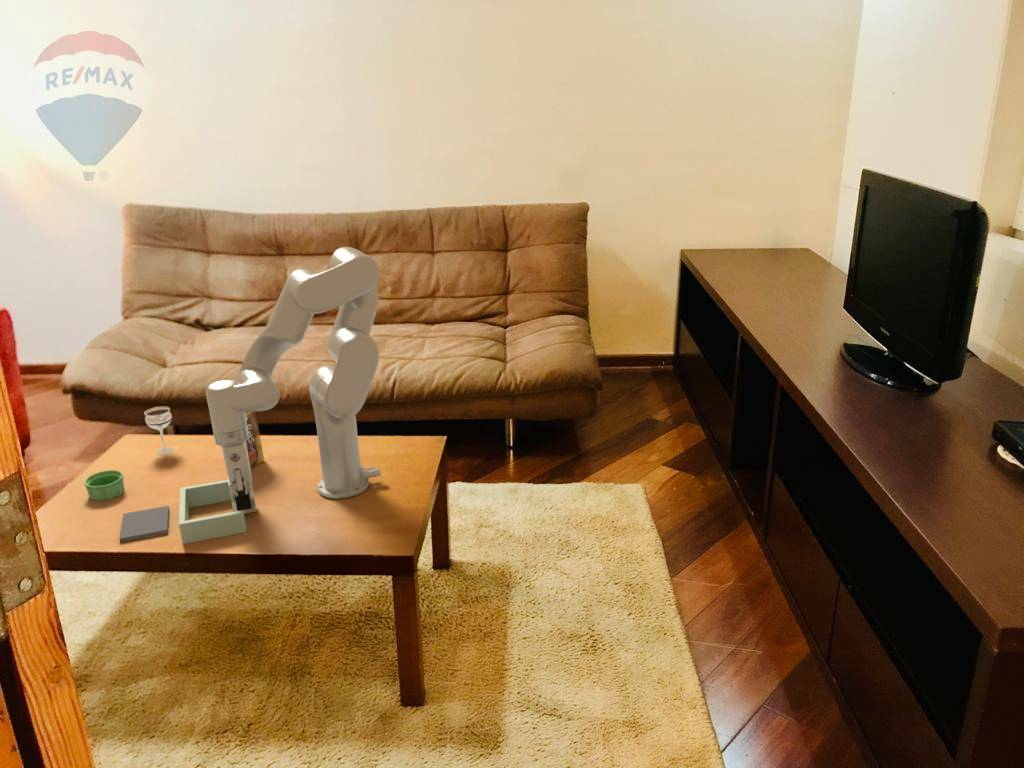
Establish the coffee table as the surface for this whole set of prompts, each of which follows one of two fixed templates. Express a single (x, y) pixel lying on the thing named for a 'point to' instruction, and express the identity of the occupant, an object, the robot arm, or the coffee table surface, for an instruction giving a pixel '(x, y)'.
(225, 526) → the u-shaped bracket
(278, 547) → the coffee table surface
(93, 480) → the ramekin
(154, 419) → the wineglass
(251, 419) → the candy box
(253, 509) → the beige block
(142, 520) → the charcoal mat
